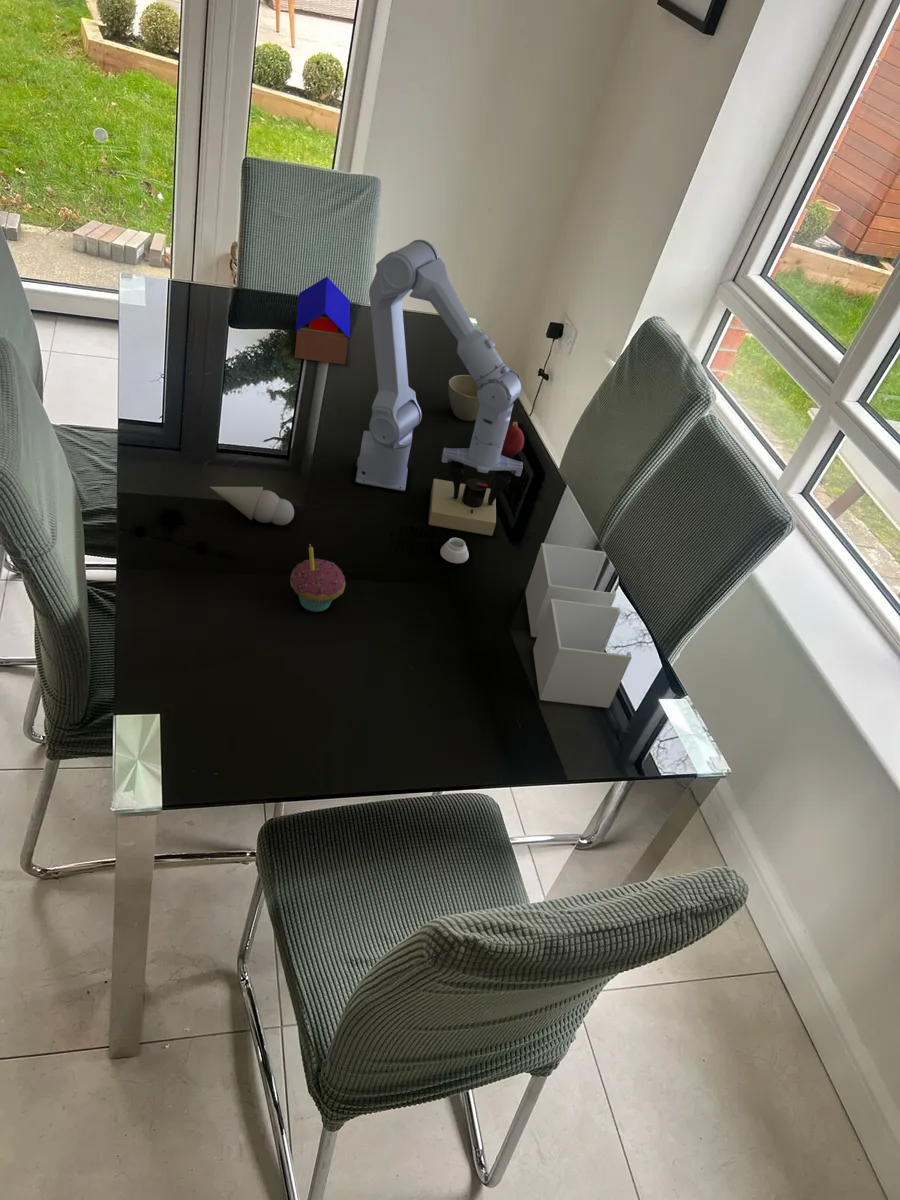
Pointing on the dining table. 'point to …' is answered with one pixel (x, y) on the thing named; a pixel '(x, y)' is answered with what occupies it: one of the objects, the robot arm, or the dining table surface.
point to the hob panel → (460, 510)
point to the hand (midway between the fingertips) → (472, 499)
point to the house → (322, 323)
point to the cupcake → (317, 582)
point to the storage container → (573, 628)
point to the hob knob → (474, 493)
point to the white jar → (455, 551)
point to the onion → (513, 440)
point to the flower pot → (464, 397)
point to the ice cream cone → (258, 504)
